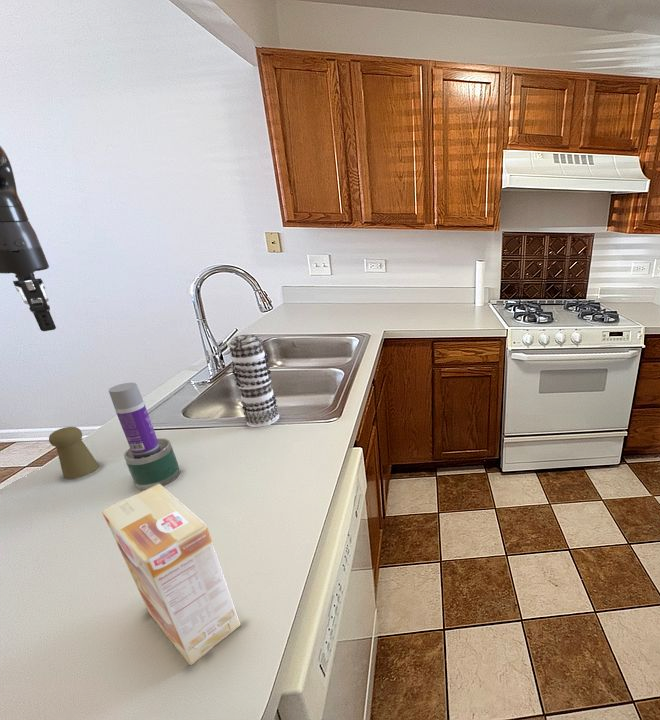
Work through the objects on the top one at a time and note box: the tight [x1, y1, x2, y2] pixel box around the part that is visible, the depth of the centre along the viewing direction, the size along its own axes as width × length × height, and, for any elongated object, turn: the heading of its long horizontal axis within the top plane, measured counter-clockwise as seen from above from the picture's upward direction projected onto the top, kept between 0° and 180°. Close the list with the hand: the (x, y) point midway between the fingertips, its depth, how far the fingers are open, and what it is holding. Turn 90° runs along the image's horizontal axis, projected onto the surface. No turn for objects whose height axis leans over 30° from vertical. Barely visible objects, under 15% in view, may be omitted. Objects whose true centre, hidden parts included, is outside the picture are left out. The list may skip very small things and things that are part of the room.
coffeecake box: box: [100, 484, 242, 666], centre depth 56 cm, size 15×7×20 cm, turn 56°
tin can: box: [123, 437, 181, 491], centre depth 88 cm, size 8×8×8 cm
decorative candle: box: [226, 333, 280, 428], centre depth 109 cm, size 9×9×25 cm
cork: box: [48, 426, 100, 480], centre depth 90 cm, size 6×6×11 cm
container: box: [108, 382, 159, 455], centre depth 84 cm, size 5×5×15 cm
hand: (46, 326), depth 83 cm, fingers open, 8 cm apart
